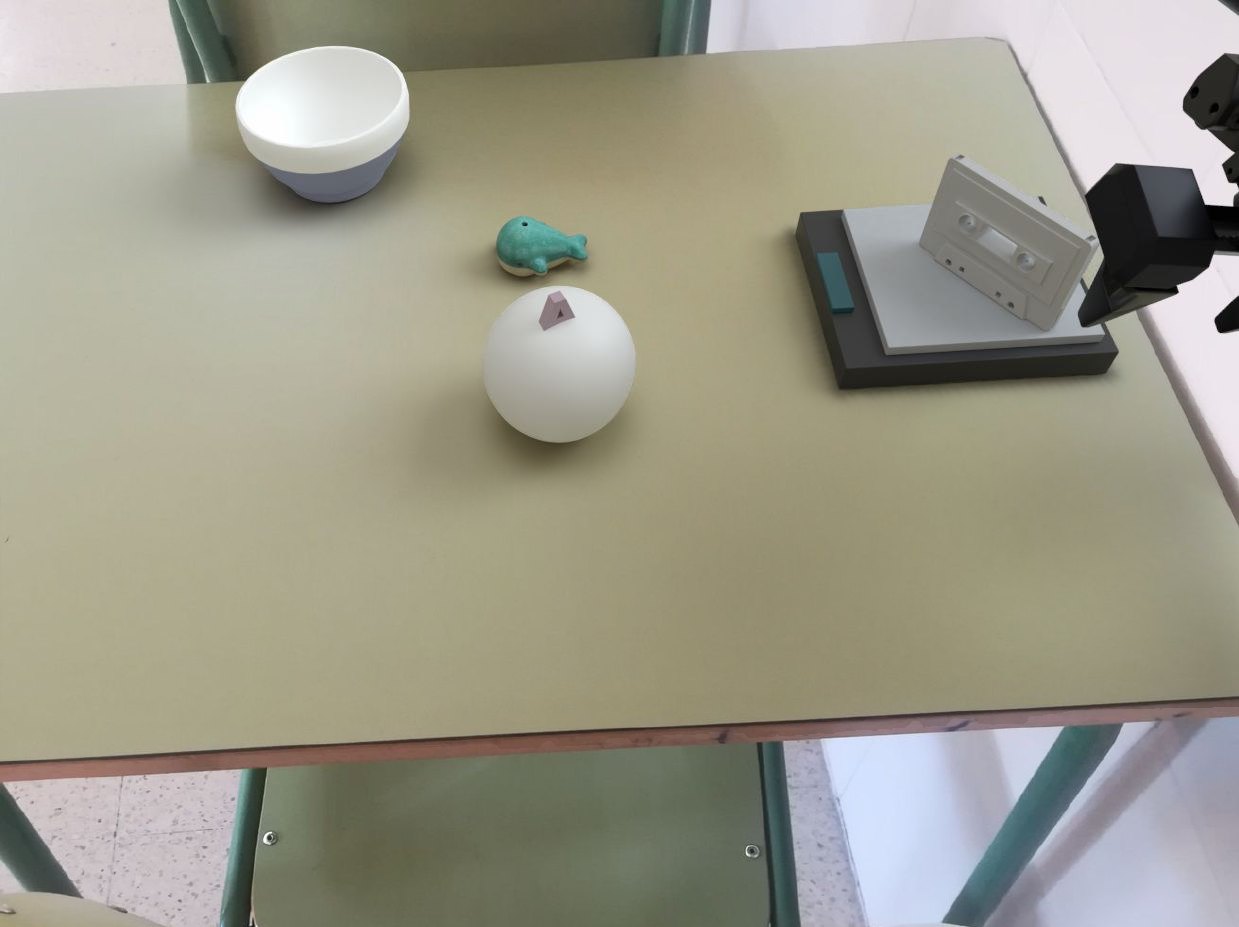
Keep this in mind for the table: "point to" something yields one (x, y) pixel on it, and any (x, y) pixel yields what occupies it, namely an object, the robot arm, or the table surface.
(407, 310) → the table surface
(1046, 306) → the cassette
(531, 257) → the whale figurine
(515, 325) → the ornament
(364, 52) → the bowl
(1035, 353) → the scale
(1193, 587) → the table surface
